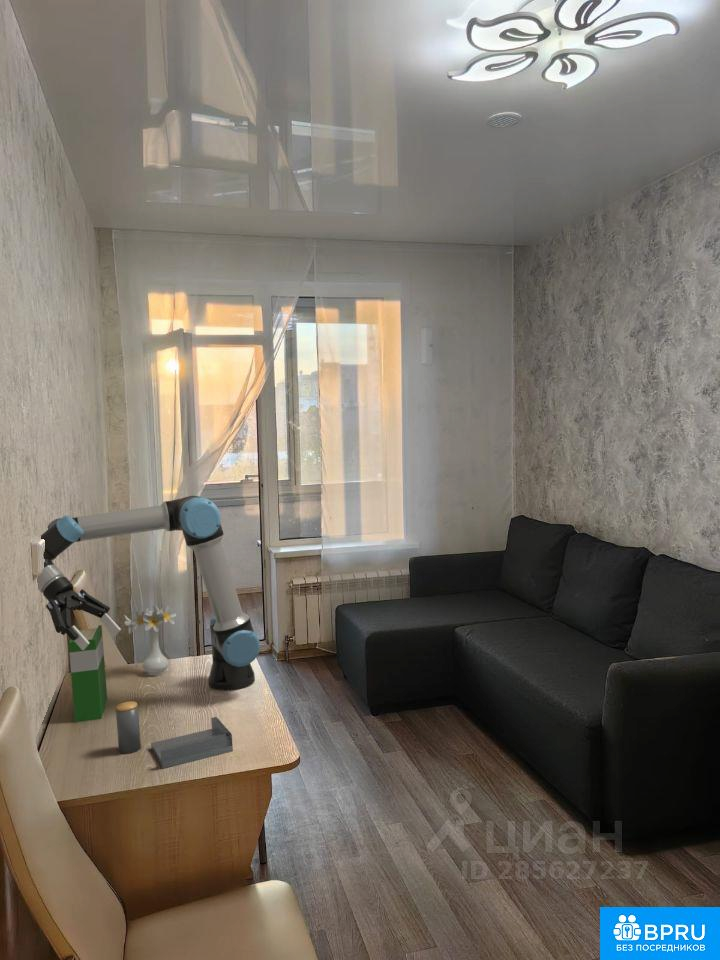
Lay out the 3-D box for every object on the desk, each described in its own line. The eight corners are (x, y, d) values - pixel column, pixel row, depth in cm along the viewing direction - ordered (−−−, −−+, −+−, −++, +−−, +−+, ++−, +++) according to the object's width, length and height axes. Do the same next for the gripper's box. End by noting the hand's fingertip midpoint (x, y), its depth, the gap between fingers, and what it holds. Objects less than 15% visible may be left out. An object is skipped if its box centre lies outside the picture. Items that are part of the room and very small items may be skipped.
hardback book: (82, 702, 234) (76, 627, 232) (107, 698, 235) (101, 625, 234) (74, 722, 217) (68, 642, 215) (101, 718, 218) (95, 639, 217)
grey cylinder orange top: (138, 743, 199) (135, 699, 198) (142, 750, 194) (139, 706, 193) (117, 747, 197) (114, 704, 196) (120, 755, 192) (117, 710, 191)
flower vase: (127, 673, 261) (122, 607, 260) (177, 665, 267) (173, 600, 266) (129, 683, 249) (124, 614, 248) (182, 674, 256) (177, 607, 254)
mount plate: (217, 732, 203) (216, 716, 203) (232, 751, 191) (231, 734, 190) (151, 748, 195) (150, 732, 195) (162, 768, 183) (161, 751, 182)
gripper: (76, 584, 219) (122, 636, 215) (13, 604, 195) (64, 662, 191) (89, 567, 217) (137, 619, 213) (27, 584, 193) (79, 643, 189)
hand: (102, 639), depth 202 cm, fingers open, 13 cm apart
